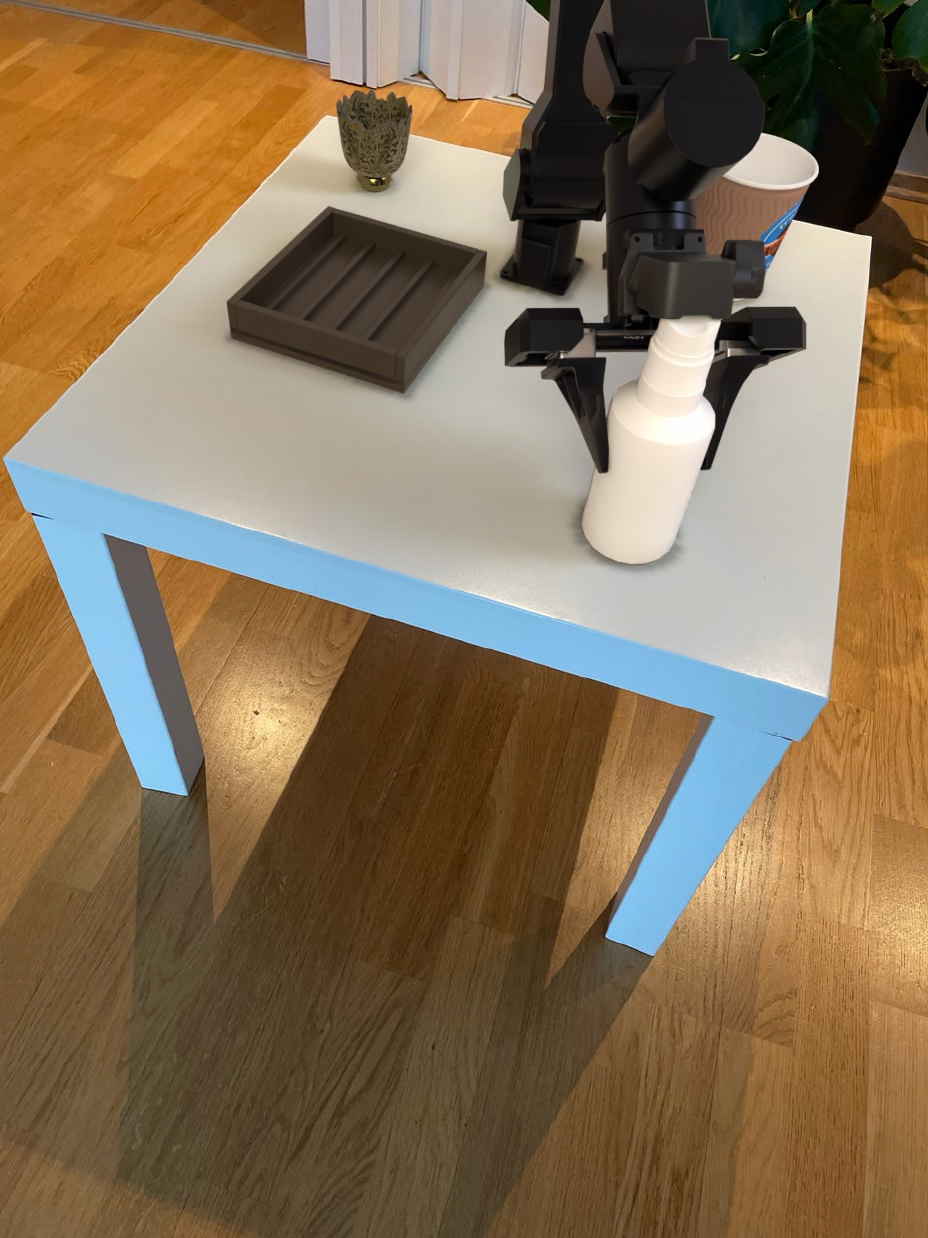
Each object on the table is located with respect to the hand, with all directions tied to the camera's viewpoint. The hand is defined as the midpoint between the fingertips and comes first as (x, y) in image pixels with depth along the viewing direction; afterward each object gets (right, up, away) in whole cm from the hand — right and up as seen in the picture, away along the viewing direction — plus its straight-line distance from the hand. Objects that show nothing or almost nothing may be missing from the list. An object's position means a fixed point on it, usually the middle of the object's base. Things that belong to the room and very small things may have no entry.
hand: (654, 471), depth 62 cm
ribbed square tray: (-21, +18, +21) cm, 35 cm away
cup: (-22, +35, +36) cm, 55 cm away
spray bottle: (-1, -4, +6) cm, 7 cm away
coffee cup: (+12, +23, +29) cm, 39 cm away
